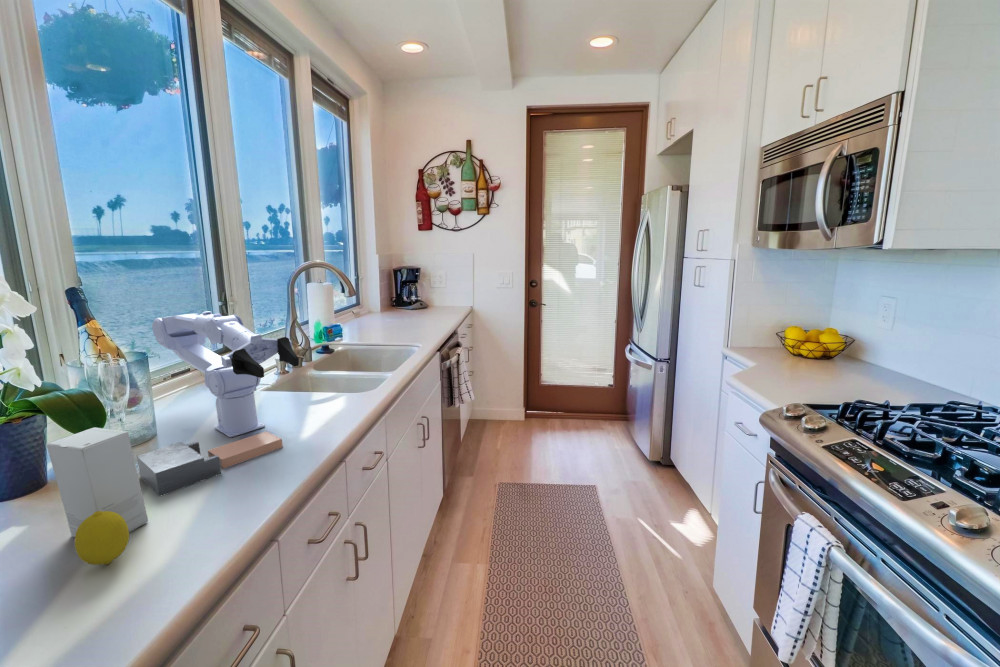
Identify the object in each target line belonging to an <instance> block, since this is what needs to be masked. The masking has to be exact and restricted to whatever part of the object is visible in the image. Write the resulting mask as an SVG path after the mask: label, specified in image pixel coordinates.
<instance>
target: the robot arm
mask: <svg viewBox="0 0 1000 667" xmlns="http://www.w3.org/2000/svg"><path fill="white" fill-rule="evenodd" d="M152 331H153V335H154V337H155V340H156V342H157V343H158V344H159V345H161V346H163V347H164V348H166V349H167V350H171V351H172V352H173V353H175V355H176V356H177V357H178V358H179V359H180V360H181V361H183V362H185V363H186V364H188V365H190V366H192V368H194V369H196V370H198V371H199V372H201V373H202V374H204V377H203V378H204V384H205V386H206V388H208V389H209V391H210V393H211V394H212V395H213V396H215V397H216V400H215V408H216V410H215V411H216V414H217V421H218V422H217V423H218V424H217V425H215V426H214V429H215V430H217V431H219V432H221V433H222V434H224V435H225V436H227V437H229V438H233V437H236V436H239V435H240V436H241V435H243V434H246V433H249V432H252V431H255V430H259V429H261V428H262V429H263V428H265V426H266V424H264V423H262V422H260V421H258V413H257V406H256V398H255V391H258V390H257V387H258V386H259V385H260V383H261V380H262V378H265V369H264V367H263V366H262V363H264V362H266V361H267V360H269V359H270V358H271V357H274V356H275V355H277V354H278V357H279V362H283V363H288V365H290V366H293V367H298V366H299V362H300V361H299V360H300V359H299V357H298V356H297V354H296V352H295V351H294V349H293V341H292V340H290V338H288V337H287V336H283V337H282V336H281V337H278V338H263V337H262V336H263V335H262V334H260V333H254V332H253V331H251V330H250V329H249V328H247V327H246V326H244V323H243V320H242V319H241V317H240V316H238V315H236V314H235V313H234V314H231V315H222V314H221V313H214V314H213V313H212V311H209V310H207V311H203V312H202V313H201V314H199V313H197V312H196V313H186V314H178V315H170V316H165V317H164V316H163V317H156V318H154V319H153V321H152ZM206 338H207V339H208V340H209V342H210V343H211V344H219V345H224V346H225V347H226V348H228V349H229V350H231V352H229V353H227V354H225V355H220V354H217V353H216V352H214V351H212V350H210V349H208V348H207V347H205V346H203V345H205V343H206V342H207V341H206Z"/></svg>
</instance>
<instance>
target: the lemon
mask: <svg viewBox="0 0 1000 667" xmlns="http://www.w3.org/2000/svg"><path fill="white" fill-rule="evenodd" d="M129 540H130V532H129V530H128V526H127V523H126V521H125V520H124V519H123V517H122V516H121V515H119V514H118V513H115V512H111V511H96V512H95V513H94V514H93V515H91V516H89V517H88V518H86V519H85V520H84V521H83V522H82V523H81V524H80V526H79V527H78V529H77V532H76V535H75V537H74V548H75V551H76V554H77V555H78V557H79V559H80V560H81V561H83V562H84V563H86V564H88V565H93V566H95V565H96V566H97V565H99V566H101V565H103V566H107V565H111V563H112V562H113V561H114V560H116V559H117V558H119V557H120V555H122V553H123V552H124V551H125V550H126V548H127V546H128V543H129Z"/></svg>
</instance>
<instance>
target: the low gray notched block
mask: <svg viewBox="0 0 1000 667" xmlns="http://www.w3.org/2000/svg"><path fill="white" fill-rule="evenodd" d="M136 459H137V460H136V461H137V464H138V470H139V475H140V478H141V477H142V478H143V479H142V478H141V479H142V480H143V481H144V482H145V483H146V485H148V487H150V489H152V491H154V493H155V494H156V495H157V496H159V497H161V495H162V496H164V494H165V495H168V494H169V493H172V492H175V491H178V490H181V489H183V488H186V487H188V486H189V487H190V486H192V485H196V484H197V483H201V482H203V481H205V480H209V479H211V478H214V477H216V475H217V476H220V475H222V468H221V466H220V460H219V456H218V455H216V456H213V457H210V458H209V457H207V458H205V457H204V456H202V453H201V448H200V443H199V442H198V441H194V442H191V443H188V444H187V443H185V442H183V441H182V442H178V443H174V444H172V445H168V446H165V447H161V448H158V449H154V450H152V451H148V452H144V453H141V454H138V455H136ZM213 476H214V477H213Z"/></svg>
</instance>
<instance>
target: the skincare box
mask: <svg viewBox="0 0 1000 667" xmlns="http://www.w3.org/2000/svg"><path fill="white" fill-rule="evenodd" d="M46 448H47V451H48V455H49V458H50V462H51V466H52V470H53V474H54V476H55V480H56V484H57V486H58V492H59V494H60V495H59V496H60V499H61V502H62V506H63V509H64V513H65V517H66V519H67V520H66V521H67V524H68V528H69V532H70V535H71V537H72V538H75V535H76V532H77V529H78V527H79V526H80V524H81V523H82V522H83V521H84V520H85V519H86V518H88V517H89V516H91V515H93V514H94V513H95V512H96V511H111V512H115V513H118V514H119V515H121V516H122V517H123V519H124V520H125V521H126V523H127V526H128V530H129V533H131V532H132V531H134V530H136V529H139V527H142V526H143V525H145V524H146V523H148V522H149V519H148V518H149V517H148V514H147V508H146V506H145V501H144V496H143V493H142V488H141V484H140V479H139V475H138V470H137V466H136V463H135V462H136V461H135V458H134V453H133V448H132V443H131V439H130V435H129V431H125V430H124V431H123V430H116V429H115V430H114V429H109V428H102V427H95V426H94V427H91V428H88V429H85V430H83V431H80V432H76V433H74V434H72V435H71V434H70V435H68V436H65V437H63V438H59V439H57V440H54V441H52V442H49V443H48V442H47V444H46Z"/></svg>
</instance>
